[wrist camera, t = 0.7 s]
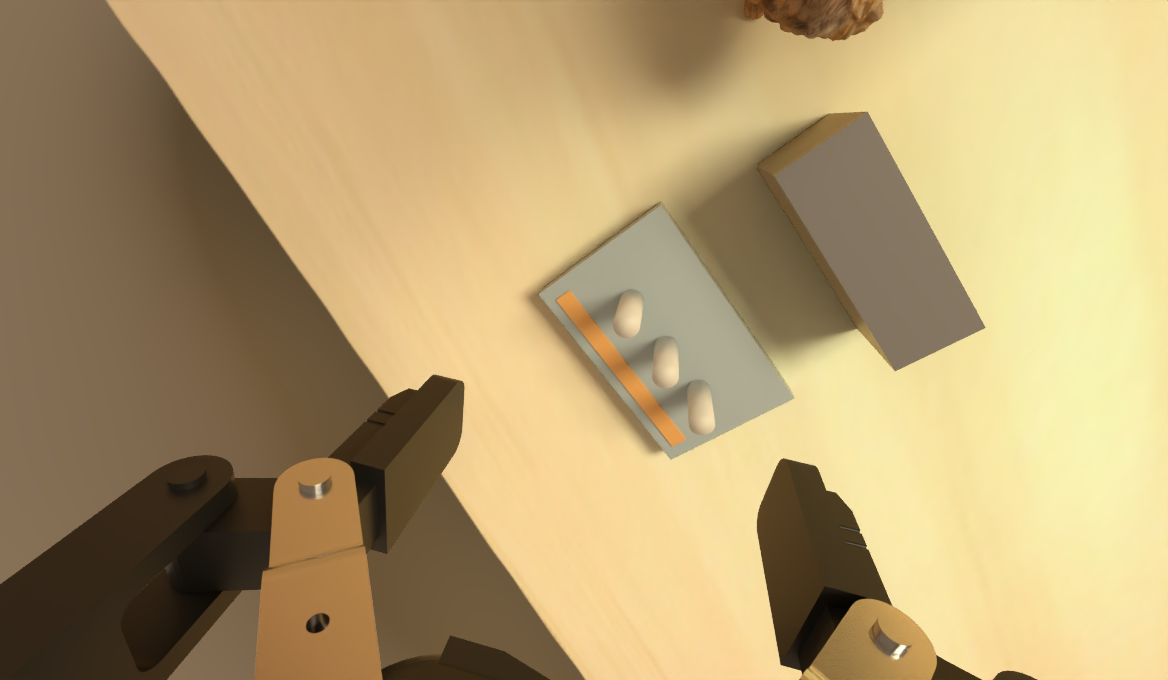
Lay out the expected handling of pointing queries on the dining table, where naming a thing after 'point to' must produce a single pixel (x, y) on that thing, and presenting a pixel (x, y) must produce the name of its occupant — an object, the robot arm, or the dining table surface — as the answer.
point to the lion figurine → (818, 16)
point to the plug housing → (870, 238)
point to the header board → (666, 335)
